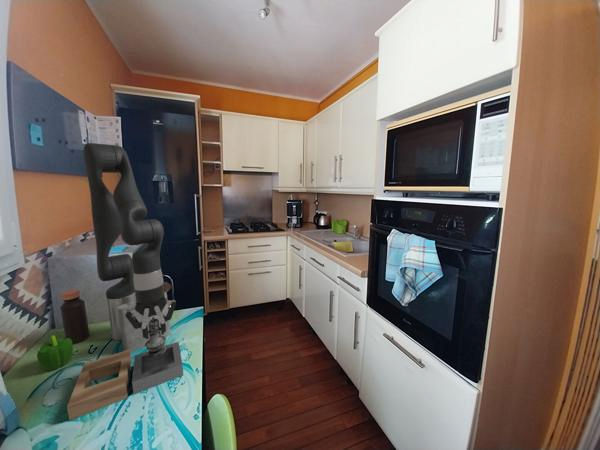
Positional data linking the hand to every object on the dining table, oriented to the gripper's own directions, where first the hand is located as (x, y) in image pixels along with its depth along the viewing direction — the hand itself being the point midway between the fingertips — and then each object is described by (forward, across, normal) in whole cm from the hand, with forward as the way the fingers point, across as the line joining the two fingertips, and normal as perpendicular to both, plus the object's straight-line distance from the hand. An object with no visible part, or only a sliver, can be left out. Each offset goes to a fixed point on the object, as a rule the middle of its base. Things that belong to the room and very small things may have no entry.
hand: (155, 335), depth 74 cm
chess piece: (+6, 0, 0) cm, 6 cm away
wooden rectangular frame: (+13, +14, -2) cm, 19 cm away
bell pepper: (+13, +29, -22) cm, 39 cm away
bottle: (+13, +27, -37) cm, 48 cm away
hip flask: (+13, +3, -19) cm, 23 cm away
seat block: (+13, 0, 0) cm, 13 cm away
